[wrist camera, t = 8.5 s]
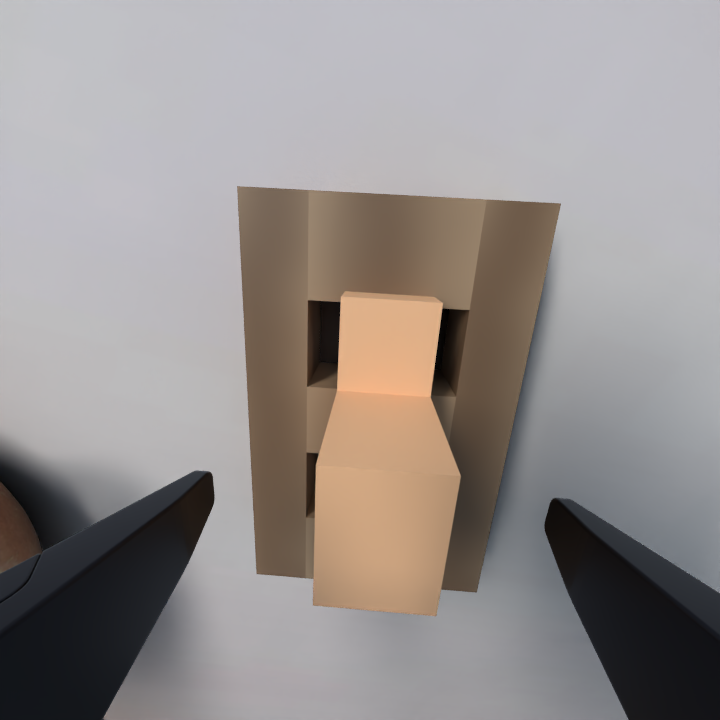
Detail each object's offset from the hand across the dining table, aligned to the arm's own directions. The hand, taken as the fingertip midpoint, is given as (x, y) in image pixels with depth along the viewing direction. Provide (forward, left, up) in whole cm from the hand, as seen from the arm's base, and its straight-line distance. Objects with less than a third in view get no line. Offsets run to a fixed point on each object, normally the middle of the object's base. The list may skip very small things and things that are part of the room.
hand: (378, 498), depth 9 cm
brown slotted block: (0, 0, -7) cm, 7 cm away
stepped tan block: (0, 0, -7) cm, 7 cm away
